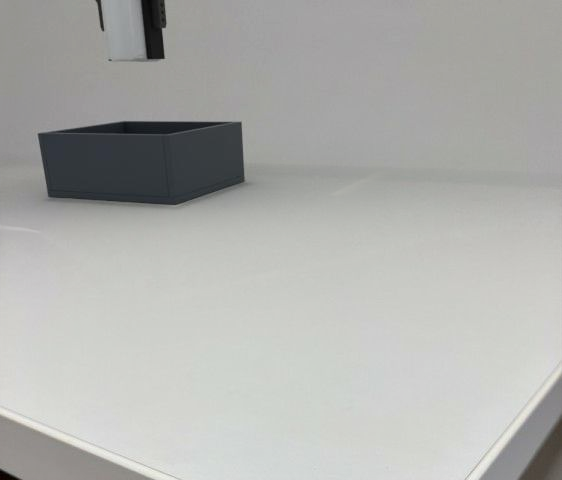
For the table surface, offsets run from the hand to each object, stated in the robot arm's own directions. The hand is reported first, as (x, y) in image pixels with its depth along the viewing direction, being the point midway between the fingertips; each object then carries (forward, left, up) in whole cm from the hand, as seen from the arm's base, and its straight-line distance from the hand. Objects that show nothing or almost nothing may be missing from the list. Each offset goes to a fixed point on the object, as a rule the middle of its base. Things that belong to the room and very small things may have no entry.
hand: (136, 59), depth 85 cm
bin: (0, 0, -16) cm, 16 cm away
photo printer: (0, 0, 0) cm, 0 cm away
